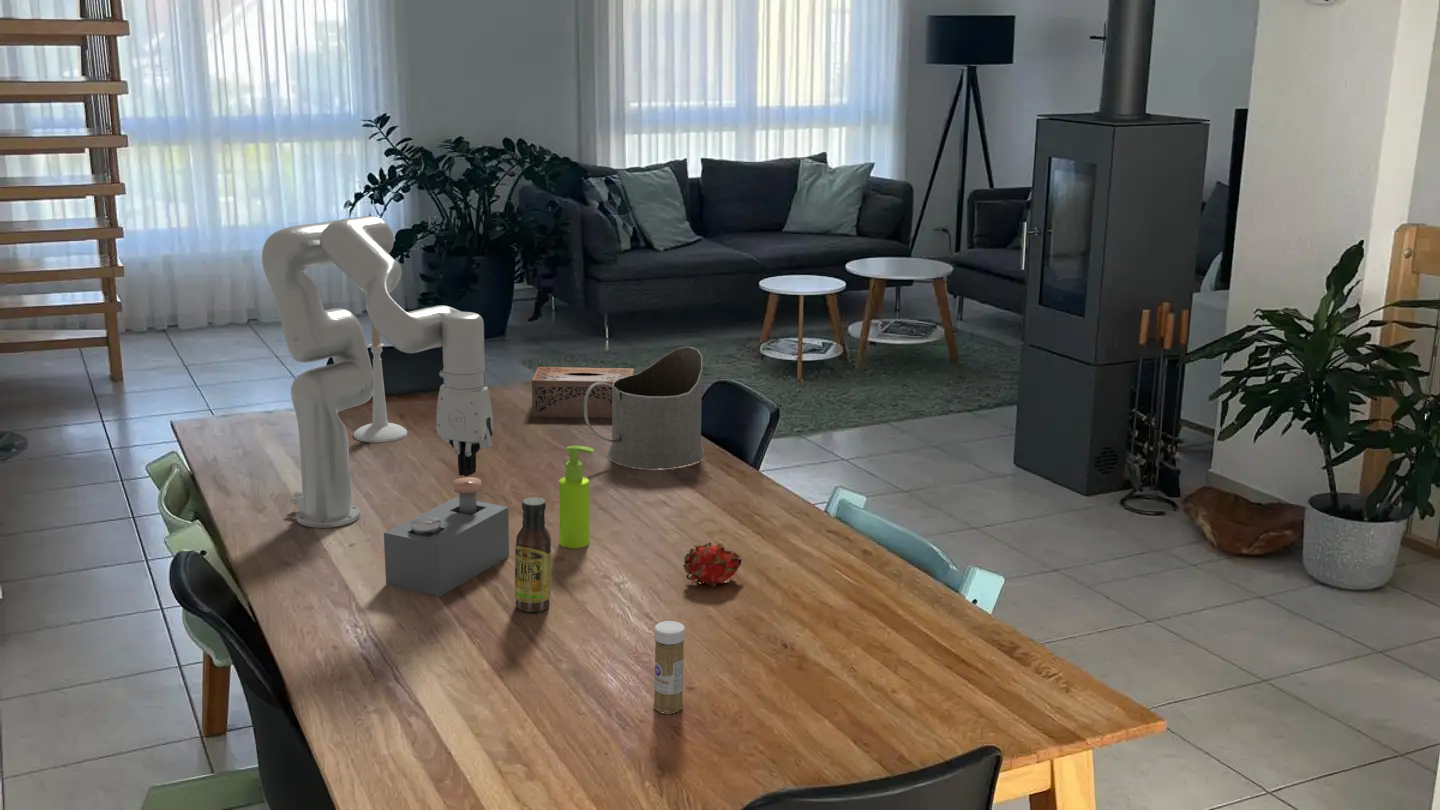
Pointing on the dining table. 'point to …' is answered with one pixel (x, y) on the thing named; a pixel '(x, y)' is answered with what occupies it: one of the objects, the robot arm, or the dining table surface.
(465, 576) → the button box
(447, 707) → the dining table surface
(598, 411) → the tissue box cover
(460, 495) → the terracotta plunger
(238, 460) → the dining table surface
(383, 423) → the candlestick
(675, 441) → the pitcher
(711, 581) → the dragon fruit
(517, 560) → the sauce bottle
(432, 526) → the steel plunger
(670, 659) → the sprinkles bottle
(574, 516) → the soap dispenser
